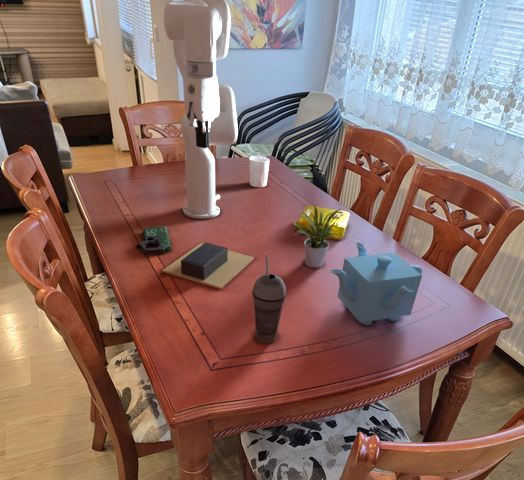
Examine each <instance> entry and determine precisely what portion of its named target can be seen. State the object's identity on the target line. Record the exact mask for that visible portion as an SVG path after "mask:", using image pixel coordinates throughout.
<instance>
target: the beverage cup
mask: <svg viewBox="0 0 524 480" xmlns="http://www.w3.org/2000/svg"><path fill="white" fill-rule="evenodd" d="M269 267H270V266H269V254H268V253H266V254H265V274H262V275H261V276H259V277H258V278H257V279H256V280H255V282H254V284H253V288H252V291H251V294H252V300H253V306H254V307H253V308H254V329H255V339H256V340H257V341H259V342H261V343H266V344H268V343H273V342H274V341H275V340H276V338H277V334H278V329H279V325H280V319H281V314H282V309H283V305H284V303H285V300H286V297H287V289H286V285H285V282H284V281H283V279H282V278H281V277H279V275H276V274H274V273H270V270H269Z"/></svg>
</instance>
